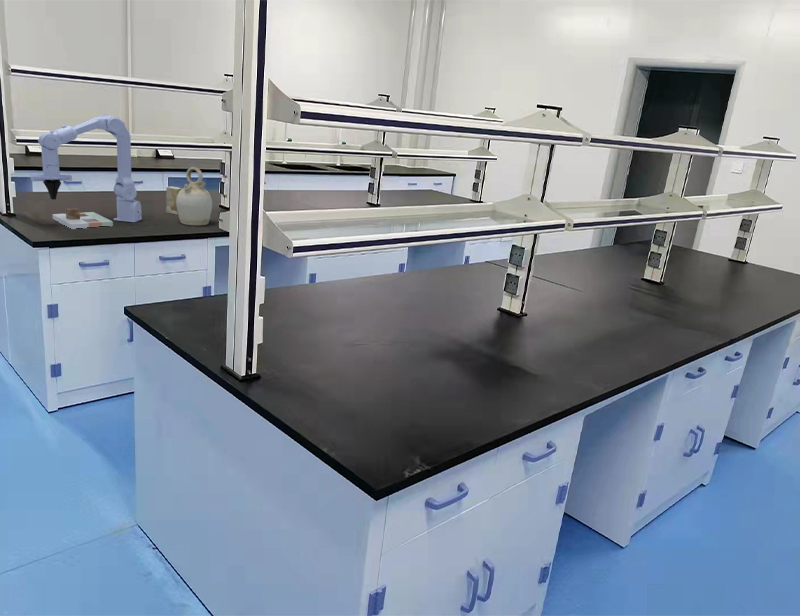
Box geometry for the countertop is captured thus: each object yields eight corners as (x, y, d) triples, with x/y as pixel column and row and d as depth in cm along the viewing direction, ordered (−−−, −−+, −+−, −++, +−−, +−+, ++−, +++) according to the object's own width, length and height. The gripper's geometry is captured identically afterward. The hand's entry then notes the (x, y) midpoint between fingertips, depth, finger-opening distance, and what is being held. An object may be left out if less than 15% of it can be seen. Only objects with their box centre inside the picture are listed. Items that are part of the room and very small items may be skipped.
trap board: (93, 216, 275) (93, 211, 275) (113, 226, 263) (112, 221, 262) (52, 218, 264) (52, 214, 263) (71, 229, 251) (70, 224, 250)
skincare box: (165, 212, 297) (165, 186, 293) (171, 211, 301) (171, 185, 297) (177, 214, 296) (177, 188, 292) (183, 213, 300) (183, 187, 296)
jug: (197, 217, 294) (197, 163, 286) (219, 224, 286) (219, 168, 278) (169, 221, 282) (168, 164, 274) (191, 228, 274) (190, 170, 266)
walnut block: (76, 217, 263) (75, 207, 261) (80, 219, 260) (79, 209, 259) (66, 217, 260) (65, 208, 258) (69, 219, 257) (69, 210, 256)
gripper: (34, 166, 240) (37, 201, 245) (74, 166, 250) (76, 200, 255) (27, 163, 245) (30, 198, 249) (67, 163, 255) (69, 196, 259)
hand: (53, 199), depth 252 cm, fingers closed
